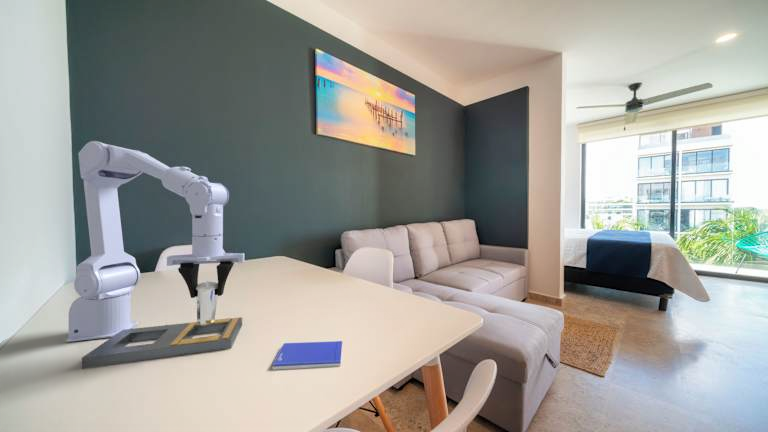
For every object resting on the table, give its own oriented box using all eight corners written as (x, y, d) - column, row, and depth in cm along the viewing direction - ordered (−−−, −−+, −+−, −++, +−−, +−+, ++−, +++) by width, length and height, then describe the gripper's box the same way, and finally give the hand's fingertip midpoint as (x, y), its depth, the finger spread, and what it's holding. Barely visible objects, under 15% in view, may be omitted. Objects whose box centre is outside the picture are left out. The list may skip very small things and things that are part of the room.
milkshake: (191, 329, 55) (194, 282, 55) (195, 321, 60) (197, 277, 60) (217, 326, 57) (219, 280, 58) (218, 318, 62) (220, 275, 62)
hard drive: (272, 364, 48) (340, 360, 49) (284, 342, 56) (342, 339, 58) (272, 372, 48) (340, 369, 49) (283, 349, 56) (342, 347, 58)
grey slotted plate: (81, 368, 47) (81, 356, 47) (122, 338, 59) (122, 328, 59) (231, 348, 55) (231, 338, 55) (242, 325, 67) (242, 316, 67)
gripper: (159, 237, 53) (159, 304, 53) (240, 236, 57) (240, 298, 57) (175, 234, 59) (174, 294, 59) (246, 233, 64) (245, 289, 64)
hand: (207, 295), depth 59 cm, fingers closed on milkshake, 4 cm apart
